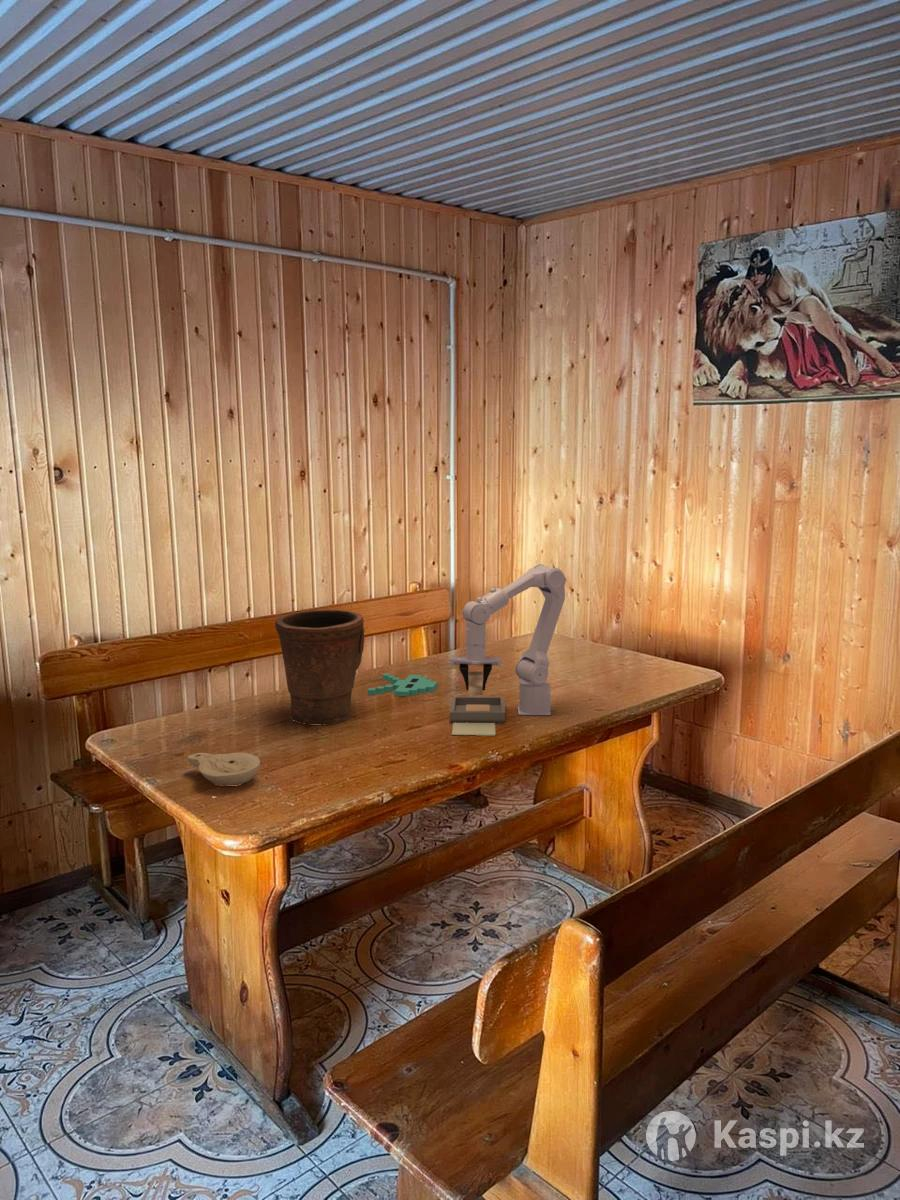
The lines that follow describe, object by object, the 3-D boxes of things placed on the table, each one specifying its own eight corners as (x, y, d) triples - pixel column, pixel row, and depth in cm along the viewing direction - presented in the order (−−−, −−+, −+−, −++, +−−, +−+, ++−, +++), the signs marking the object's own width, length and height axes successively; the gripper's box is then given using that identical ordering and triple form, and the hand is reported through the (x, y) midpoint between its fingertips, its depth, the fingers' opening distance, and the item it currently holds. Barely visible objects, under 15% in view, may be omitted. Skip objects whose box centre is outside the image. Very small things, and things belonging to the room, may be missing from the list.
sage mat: (495, 724, 255) (494, 723, 255) (495, 735, 245) (495, 734, 245) (453, 724, 255) (453, 722, 255) (451, 735, 246) (451, 734, 246)
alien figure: (367, 696, 285) (428, 699, 281) (367, 689, 285) (428, 692, 281) (384, 679, 304) (441, 682, 300) (384, 673, 304) (441, 676, 300)
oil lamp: (167, 780, 215) (166, 761, 215) (212, 762, 227) (210, 743, 226) (230, 798, 205) (228, 778, 204) (273, 778, 217) (272, 758, 216)
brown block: (482, 691, 259) (482, 671, 258) (482, 695, 255) (482, 675, 254) (469, 691, 259) (469, 671, 258) (468, 695, 255) (468, 674, 254)
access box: (504, 706, 272) (504, 696, 271) (505, 723, 256) (505, 712, 255) (451, 706, 272) (451, 696, 272) (449, 723, 256) (449, 712, 256)
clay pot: (392, 711, 268) (390, 613, 263) (316, 735, 247) (312, 630, 241) (336, 695, 285) (333, 603, 279) (261, 716, 264) (256, 618, 258)
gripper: (449, 646, 250) (449, 693, 253) (501, 647, 250) (500, 693, 252) (451, 640, 257) (451, 686, 260) (501, 641, 257) (500, 686, 259)
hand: (475, 689), depth 256 cm, fingers closed on brown block, 4 cm apart
